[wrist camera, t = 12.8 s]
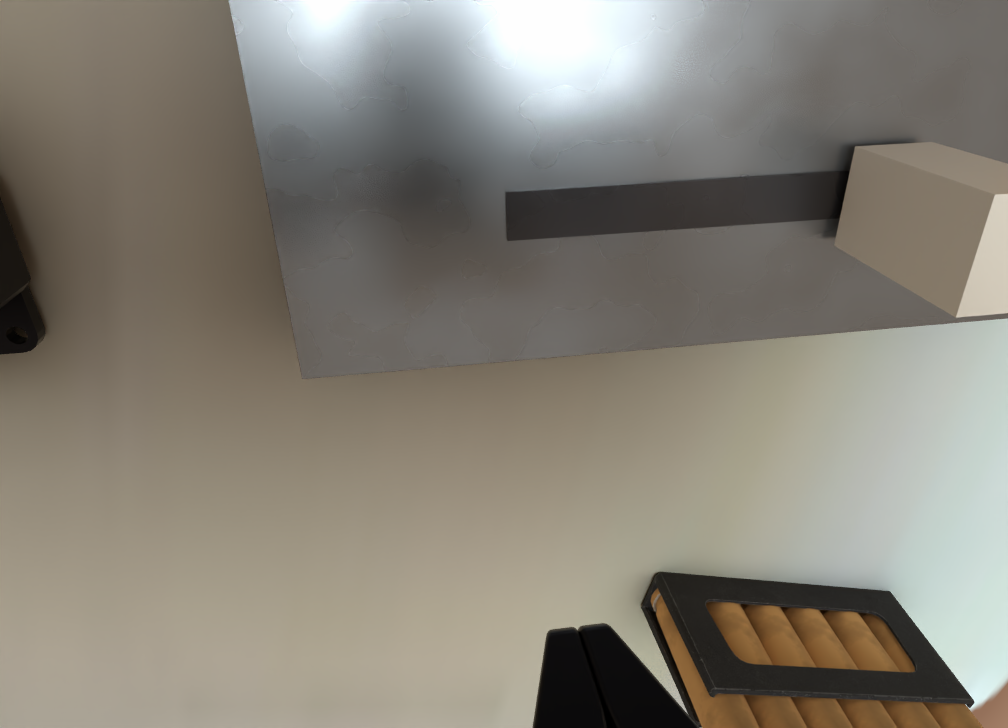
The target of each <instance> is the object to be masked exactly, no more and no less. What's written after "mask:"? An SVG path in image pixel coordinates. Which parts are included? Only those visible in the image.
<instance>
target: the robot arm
mask: <svg viewBox="0 0 1008 728" xmlns="http://www.w3.org/2000/svg"><path fill="white" fill-rule="evenodd" d="M30 279H31V278H30V274H29V272H28V269H27V267H26V264H25V261H24V259H23V256H22V254H21V251H20V248H19V246H18V243H17V241H16V238H15V235H14V233H13V230H12V227H11V225H10V222H9V220H8V217H7V214H6V212H5V209H4V207H3V204H2V201H1V199H0V354H10V353H23V352H27V351H31V350H32V349H34V348H35V347H36V346H37V345H38V344H39V343H40V342H41V341H42V340H43V338H44V336H45V329H44V325H43V323H42V320H41V318H40V315H39V313H38V310H37V307H36V305H35V302H34V300H33V297H32V294H31V292H30V289H29V287H28V283H29V282H30ZM14 327H19V328H21V329H23V330H24V331H25V332H26V333H27V335H28V338H27V337H22V336H20V335H18V334H17V333H16V332H15V330H14ZM533 728H699V727H698V726H697V724H696V723H695V722H694V721H693V720H692V719H691V718H690V716H689V715H688V714H687V713H686V712H685V711H684V710H683V708H682V707H681V706H680V705H679V704H678V703H677V702H676V700H675V699H674V698H673V697H672V696H671V695H670V694H669V692H668V691H667V690H666V689H665V688H664V687H663V686H662V684H661V683H660V682H659V681H658V680H657V679H656V678H655V676H654V675H653V674H652V673H651V672H650V671H649V670H648V668H647V667H646V666H645V665H644V664H643V663H642V662H641V660H640V659H639V658H638V657H637V656H636V655H635V654H634V652H633V651H632V650H631V649H630V648H629V647H628V646H627V644H626V643H625V642H624V641H623V640H622V639H621V638H620V636H619V635H618V634H617V633H616V632H615V631H614V630H613V629H612V628H611V626H609V625H607V624H605V623H600V624H592V625H584V626H581V627H580V628H579V629H578V631H577V629H576V628H574V627H569V628H561V629H553V630H550V631H548V633H547V636H546V642H545V649H544V655H543V662H542V669H541V675H540V682H539V689H538V695H537V702H536V708H535V715H534V722H533Z"/></svg>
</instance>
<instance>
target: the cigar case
mask: <svg viewBox="0 0 1008 728" xmlns="http://www.w3.org/2000/svg"><path fill="white" fill-rule="evenodd" d="M641 608H642V610H643V612H644V615H645V617H646V619H647V621H648V624H649V626H650V628H651V630H652V633H653V635H654V637H655V639H656V642H657V644H658V646H659V648H660V651H661V653H662V655H663V657H664V660H665V662H666V664H667V666H668V669H669V671H670V673H671V675H672V678H673V680H674V682H675V684H676V687H677V689H678V691H679V694H680V696H681V698H682V701H683V703H684V705H685V708H686V710H687V712H688V715H689V716H690V718H691V719H692V720H693V721H694V722H695V723H696V724H697V726H698V727H702V728H983V727H982V725H981V724H980V723H979V722H978V720H977V719H976V718H975V716H974V715H973V714H972V712H971V711H970V710H969V709H968V707H969V708H970V707H971V706H972V705H973V704H974V700H973V699H972V697H971V696H970V695H969V694H968V692H967V691H966V690H965V688H964V687H963V686H962V684H961V683H960V682H959V681H958V679H957V678H956V677H955V675H954V674H953V673H952V671H951V670H950V669H949V668H948V666H947V665H946V664H945V662H944V661H943V660H942V658H941V657H940V656H939V655H938V653H937V652H936V651H935V649H934V648H933V647H932V645H931V644H930V643H929V642H928V640H927V639H926V638H925V636H924V635H923V634H922V632H921V631H920V630H919V628H918V627H917V626H916V625H915V623H914V622H913V621H912V619H911V618H910V617H909V615H908V614H907V613H906V612H905V610H904V609H903V608H902V606H901V605H900V604H899V602H898V601H897V600H896V599H895V597H894V596H893V595H892V593H891V592H890V591H881V590H869V589H857V588H845V587H833V586H822V585H810V584H798V583H786V582H774V581H762V580H751V579H739V578H727V577H715V576H703V575H691V574H680V573H668V572H659V574H657V575H656V576H655V578H654V580H653V582H652V584H651V587H650V589H649V591H648V593H647V596H646V598H645V600H644V602H643V604H642V607H641ZM965 704H966V705H967V706H968V707H967V706H966V705H965Z"/></svg>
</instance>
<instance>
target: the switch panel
mask: <svg viewBox="0 0 1008 728" xmlns="http://www.w3.org/2000/svg"><path fill="white" fill-rule="evenodd" d="M229 4H230V10H231V15H232V20H233V25H234V30H235V35H236V40H237V46H238V51H239V56H240V61H241V66H242V71H243V76H244V82H245V87H246V92H247V97H248V102H249V107H250V112H251V118H252V123H253V128H254V133H255V138H256V143H257V148H258V154H259V159H260V164H261V169H262V174H263V179H264V184H265V190H266V195H267V200H268V205H269V210H270V215H271V220H272V226H273V231H274V236H275V241H276V246H277V251H278V256H279V262H280V267H281V272H282V277H283V282H284V287H285V292H286V298H287V303H288V308H289V313H290V318H291V323H292V328H293V333H294V339H295V344H296V349H297V354H298V359H299V364H300V369H301V375H302V379H309V378H320V377H332V376H344V375H355V374H367V373H378V372H390V371H402V370H413V369H425V368H436V367H448V366H460V365H471V364H483V363H495V362H506V361H518V360H529V359H541V358H553V357H564V356H576V355H587V354H599V353H611V352H622V351H634V350H645V349H657V348H669V347H680V346H692V345H704V344H715V343H727V342H738V341H750V340H762V339H773V338H785V337H796V336H808V335H820V334H831V333H843V332H854V331H866V330H878V329H889V328H901V327H913V326H924V325H936V324H947V323H959V322H971V321H982V320H994V319H1005V318H1008V313H1004V314H992V315H980V316H968V317H957V318H956V317H954V316H952V315H951V314H949V313H947V312H946V311H944V310H942V309H941V308H939V307H937V306H935V305H934V304H932V303H930V302H929V301H927V300H925V299H924V298H922V297H920V296H919V295H917V294H915V293H913V292H912V291H910V290H908V289H907V288H905V287H903V286H902V285H900V284H898V283H897V282H895V281H893V280H892V279H890V278H888V277H886V276H885V275H883V274H881V273H880V272H878V271H876V270H875V269H873V268H871V267H870V266H868V265H866V264H864V263H863V262H861V261H859V260H858V259H856V258H854V257H853V256H851V255H849V254H848V253H846V252H844V251H843V250H841V249H839V248H837V247H836V246H834V243H835V239H836V234H837V229H838V225H839V220H840V215H841V210H842V206H843V201H844V196H845V192H846V187H847V182H848V178H849V173H850V168H851V163H852V159H853V154H854V149H855V146H870V145H887V144H904V143H922V142H934V143H937V144H941V145H944V146H948V147H951V148H955V149H958V150H962V151H965V152H969V153H972V154H976V155H979V156H983V157H986V158H990V159H993V160H997V161H1000V162H1004V163H1007V164H1008V0H229Z"/></svg>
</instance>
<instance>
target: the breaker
mask: <svg viewBox="0 0 1008 728" xmlns="http://www.w3.org/2000/svg"><path fill="white" fill-rule="evenodd" d="M834 246H836V247H837V248H839V249H841V250H843V251H844V252H846V253H848V254H849V255H851V256H853V257H854V258H856V259H858V260H859V261H861V262H863V263H864V264H866V265H868V266H870V267H871V268H873V269H875V270H876V271H878V272H880V273H881V274H883V275H885V276H886V277H888V278H890V279H892V280H893V281H895V282H897V283H898V284H900V285H902V286H903V287H905V288H907V289H908V290H910V291H912V292H913V293H915V294H917V295H919V296H920V297H922V298H924V299H925V300H927V301H929V302H930V303H932V304H934V305H935V306H937V307H939V308H941V309H942V310H944V311H946V312H947V313H949V314H951V315H952V316H954V317H956V318H957V317H968V316H980V315H992V314H1004V313H1008V164H1007V163H1004V162H1000V161H997V160H993V159H990V158H986V157H983V156H979V155H976V154H972V153H969V152H965V151H962V150H958V149H955V148H951V147H948V146H944V145H941V144H937V143H934V142H922V143H904V144H887V145H870V146H855V149H854V154H853V159H852V163H851V168H850V173H849V178H848V182H847V187H846V192H845V196H844V201H843V206H842V210H841V215H840V220H839V225H838V229H837V234H836V239H835V243H834Z"/></svg>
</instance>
